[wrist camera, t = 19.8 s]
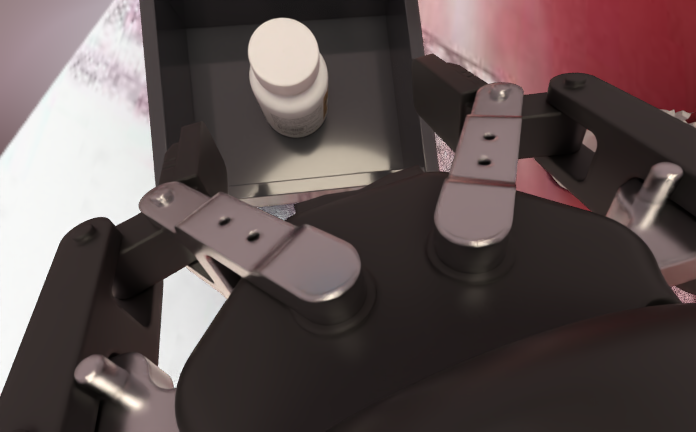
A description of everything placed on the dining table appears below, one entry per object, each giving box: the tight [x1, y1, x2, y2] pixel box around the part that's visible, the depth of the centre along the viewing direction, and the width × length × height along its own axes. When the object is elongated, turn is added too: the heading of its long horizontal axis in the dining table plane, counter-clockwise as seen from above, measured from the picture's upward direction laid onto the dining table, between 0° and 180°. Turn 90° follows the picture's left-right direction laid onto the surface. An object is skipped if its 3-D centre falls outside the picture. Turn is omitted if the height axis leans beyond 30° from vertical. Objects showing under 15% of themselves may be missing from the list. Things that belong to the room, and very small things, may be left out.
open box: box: [139, 0, 439, 207], centre depth 23 cm, size 16×14×6 cm
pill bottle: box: [248, 18, 328, 138], centre depth 21 cm, size 4×4×8 cm
